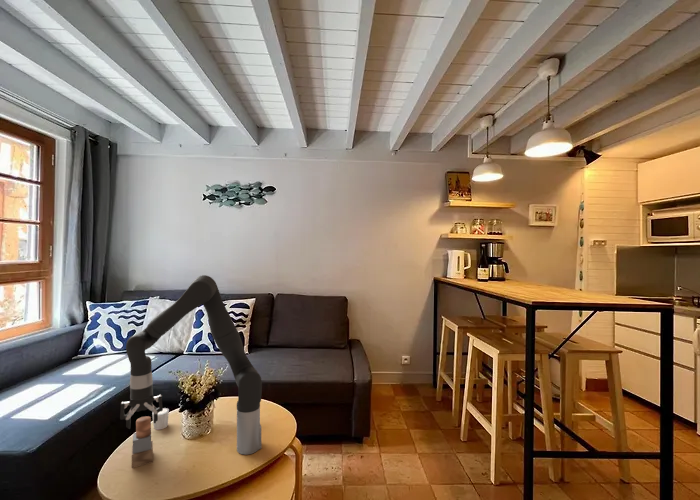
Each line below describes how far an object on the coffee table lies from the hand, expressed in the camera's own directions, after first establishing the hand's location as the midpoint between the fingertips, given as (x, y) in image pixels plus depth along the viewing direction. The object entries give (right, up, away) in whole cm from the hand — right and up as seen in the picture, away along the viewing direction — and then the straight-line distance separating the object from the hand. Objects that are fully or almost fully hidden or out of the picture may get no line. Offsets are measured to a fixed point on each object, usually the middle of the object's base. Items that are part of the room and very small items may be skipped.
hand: (142, 425), depth 139 cm
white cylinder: (-6, -13, +25) cm, 29 cm away
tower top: (0, -9, 0) cm, 9 cm away
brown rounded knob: (0, -4, 0) cm, 4 cm away
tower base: (0, -14, +1) cm, 14 cm away
